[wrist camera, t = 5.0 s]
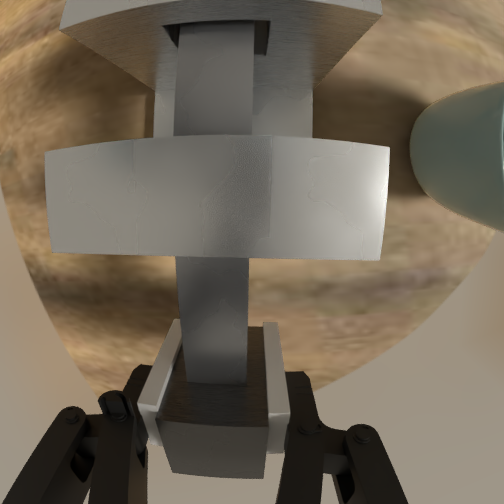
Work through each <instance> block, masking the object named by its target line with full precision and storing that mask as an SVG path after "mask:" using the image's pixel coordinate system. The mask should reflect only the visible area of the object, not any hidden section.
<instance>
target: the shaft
mask: <svg viewBox="0 0 504 504" xmlns="http://www.w3.org/2000/svg"><path fill="white" fill-rule="evenodd" d="M254 31H255V20H213V21H198V22H186V23H181V26H180V35H179V46H178V57H177V70H176V85H175V104H174V131H173V136H190V135H252V109H253V69H254ZM175 259H176V275H177V289H178V302H179V313H180V324H181V334H182V344H181V347H180V349H179V352H178V355H177V358H176V361H175V363H174V366H173V369H172V372H171V375H170V378H169V380H168V383H167V386H166V389H165V392H164V395H163V398H162V401H161V404H160V407H159V410H158V412H157V415H156V418H155V421H156V424H157V428H158V431H159V434H160V437H161V441H162V444H163V447H164V449H165V453H166V456H167V458H168V461H169V464H170V467H171V470H172V472H173V473H179V474H187V475H197V476H208V477H220V478H243V479H263V477H264V468H265V460H266V451H267V442H268V432H269V419H268V403H267V386H266V370H265V353H264V337H263V327H249V326H248V287H249V258H231V257H189V256H175Z"/></svg>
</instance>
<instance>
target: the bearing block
mask: <svg viewBox="0 0 504 504" xmlns="http://www.w3.org/2000/svg"><path fill="white" fill-rule="evenodd" d="M382 15H383V13H382V6H381V0H67V1H66V4H65V8H64V11H63V15H62V19H61V23H60V27H59V30H60V31H61V32H63V33H65V34H67V35H68V36H70V37H72V38H73V39H75V40H77V41H78V42H80V43H82V44H83V45H85V46H87V47H88V48H90V49H92V50H93V51H95V52H96V53H98V54H100V55H101V56H103V57H104V58H106V59H108V60H109V61H111V62H112V63H114V64H115V65H117V66H118V67H120V68H121V69H123V70H124V71H126V72H128V73H129V74H131V75H132V76H134V77H135V78H136V79H138V80H139V81H141V82H142V83H144V84H145V85H147V86H148V87H150V88H151V89H153V90H154V91H155V107H154V134H153V138H141V139H130V140H120V141H112V142H103V143H96V144H88V145H82V146H75V147H69V148H63V149H57V150H52V151H47V152H45V188H46V204H47V216H48V226H49V234H50V242H51V249H52V253H80V254H114V255H150V256H189V257H231V258H278V259H330V260H380V255H381V248H382V240H383V232H384V223H385V214H386V203H387V191H388V176H389V156H390V147H385V146H378V145H371V144H364V143H356V142H347V141H338V140H328V139H317V138H312V120H313V90H314V89H315V88H316V87H317V86H318V84H319V83H320V82H321V81H322V80H323V79H324V78H325V76H326V75H327V74H328V73H329V72H330V71H331V70H332V69H333V67H334V66H335V65H336V64H337V63H338V62H339V61H340V60H341V59H342V58H343V56H344V55H345V54H346V53H347V52H348V51H349V50H350V49H351V48H352V47H353V46H354V45H355V43H356V42H357V41H358V40H359V39H360V38H361V37H362V36H363V35H364V34H365V33H366V32H367V31H368V30H369V29H370V28H371V27H372V26H373V25H374V24H375V23H376V22H377V20H378V19H379V18H380V17H381V16H382ZM213 20H255V31H254V69H253V109H252V135H190V136H173V131H174V104H175V85H176V70H177V57H178V46H179V35H180V26H181V23H186V22H198V21H213Z"/></svg>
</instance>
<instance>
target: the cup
mask: <svg viewBox="0 0 504 504" xmlns="http://www.w3.org/2000/svg"><path fill="white" fill-rule="evenodd" d="M410 160H411V165H412V169H413V172H414V174H415V177H416V179H417V182H418V183H419V185H420V186H421V188H422V190H423V191H424V192H425V193H426V194H427V195H428V196H429V197H430V198H431V199H432V200H433V201H435V202H436V203H438V204H439V205H441V206H442V207H444V208H446V209H447V210H449V211H451V212H453V213H455V214H457V215H459V216H461V217H464V218H466V219H468V220H471V221H473V222H476V223H479V224H481V225H484V226H486V227H489V228H492V229H494V230H497V231H500V232H502V233H504V81H499V82H494V83H489V84H485V85H480V86H476V87H472V88H468V89H465V90H462V91H458V92H455V93H453V94H450V95H448V96H445V97H443V98H441V99H439V100H437V101H435V102H433V103H432V104H430V105H429V106H428V107H426V108H425V109H424V110H423V111H422V112H421V113H420V114H419V116H418V117H417V119H416V121H415V122H414V125H413V128H412V131H411V136H410Z"/></svg>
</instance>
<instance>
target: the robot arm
mask: <svg viewBox="0 0 504 504" xmlns="http://www.w3.org/2000/svg"><path fill="white" fill-rule="evenodd" d="M263 337H264V353H265V370H266V386H267V403H268V419H269V432H268V442H267V451H266V454H273V453H283V452H285V458H284V463H283V468H282V474H281V479H280V484H279V489H278V494H277V498H276V503H275V504H320V502H321V493H322V480H323V473H327V474H332V478H333V482H334V486H335V489H336V493H337V497H338V501H339V504H408V502H407V499H406V497H405V495H404V492H403V490H402V487H401V485H400V482H399V480H398V478H397V475H396V473H395V471H394V469H393V466H392V464H391V461H390V459H389V457H388V455H387V452H386V450H385V448H384V446H383V443H382V441H381V439H380V437H379V434H378V432H377V431H376V430H375V429H374V428H373V427H371V426H369V425H365V424H357V425H354V426H351V427H350V428H349V429H348V430H347V431H345V430H338V429H333V428H330V427H328V426H326V425H324V424H323V423H322V421H321V420H320V419H319V416H318V412H317V408H316V404H315V399H314V395H313V391H312V388H311V383H310V379H309V377H308V376H307V375H306V374H305V373H304V372H303V371H299V372H285V370H284V363H283V356H282V350H281V343H280V336H279V329H278V323H277V322H263ZM181 344H182V334H181V324H180V319H174V320H173V322H172V325H171V327H170V329H169V331H168V333H167V336H166V338H165V340H164V342H163V344H162V347H161V349H160V351H159V353H158V356H157V358H156V360H155V362H154V365H153V366H150V365H142V364H140V365H139V366H138V367H136V368H135V369H134V370H133V372H132V374H131V376H130V379H128V381H127V385H125V387H124V389H123V391H118V390H112V391H108V392H105V393H103V394H102V395H101V396H100V397H99V399H98V402H99V405H100V407H101V410H102V412H103V414H94V415H86V414H85V412H84V411H83V410H82V409H81V408H79V407H75V406H71V407H66V408H64V409H63V410H61V412H59V414H58V415H57V417H56V418H55V420H54V421H53V423H52V424H51V426H50V427H49V428H48V430H47V432H46V433H45V435H44V436H43V438H42V439H41V441H40V442H39V444H38V445H37V447H36V449H35V450H34V451H33V453H32V455H31V456H30V458H29V459H28V461H27V462H26V464H25V466H24V467H23V469H22V471H21V472H20V474H19V475H18V477H17V479H16V481H15V482H14V484H13V486H12V487H11V489H10V491H9V492H8V494H7V496H6V498H5V499H4V501H3V503H2V504H83V502H84V500H85V497H86V495H87V493H88V491H89V489H90V493H89V502H88V504H147V470H148V450H147V447H146V444H147V440H148V438H149V440H150V443H151V444H152V445H158V446H163V444H162V441H161V437H160V434H159V431H158V428H157V424H156V421H155V418H156V415H157V412H158V410H159V407H160V404H161V401H162V398H163V395H164V392H165V389H166V386H167V383H168V380H169V378H170V375H171V372H172V369H173V366H174V363H175V361H176V358H177V355H178V352H179V349H180V347H181Z"/></svg>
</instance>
